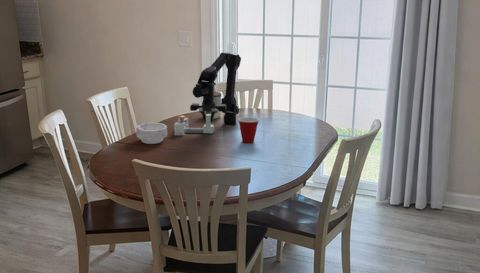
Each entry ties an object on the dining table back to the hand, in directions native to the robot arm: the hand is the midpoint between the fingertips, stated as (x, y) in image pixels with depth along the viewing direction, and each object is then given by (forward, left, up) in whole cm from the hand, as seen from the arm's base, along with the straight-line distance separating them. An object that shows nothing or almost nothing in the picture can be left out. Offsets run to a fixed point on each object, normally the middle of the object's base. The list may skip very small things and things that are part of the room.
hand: (208, 123), depth 262 cm
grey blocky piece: (+15, 0, -5) cm, 15 cm away
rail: (+4, 0, -5) cm, 7 cm away
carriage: (0, 0, -5) cm, 5 cm away
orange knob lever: (+14, 0, -2) cm, 15 cm away
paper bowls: (+26, +19, -6) cm, 33 cm away
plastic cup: (-22, +14, -5) cm, 27 cm away
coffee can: (+2, -35, -6) cm, 35 cm away
